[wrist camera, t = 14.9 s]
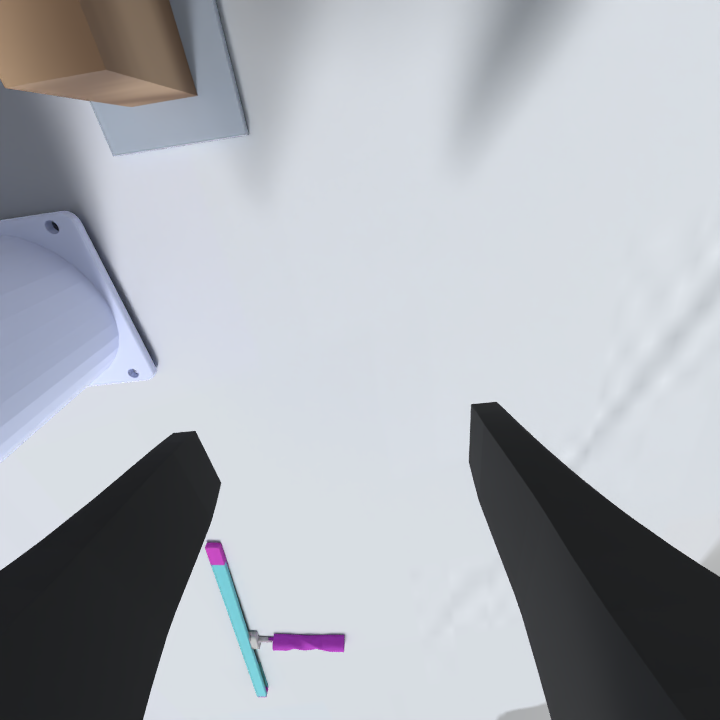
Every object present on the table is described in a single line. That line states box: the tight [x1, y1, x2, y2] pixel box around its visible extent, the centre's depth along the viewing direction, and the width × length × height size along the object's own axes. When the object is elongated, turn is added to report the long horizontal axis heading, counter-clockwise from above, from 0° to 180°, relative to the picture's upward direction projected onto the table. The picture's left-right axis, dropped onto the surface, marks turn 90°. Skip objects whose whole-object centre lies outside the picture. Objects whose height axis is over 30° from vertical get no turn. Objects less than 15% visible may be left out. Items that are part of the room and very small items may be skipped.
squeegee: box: [205, 543, 344, 697], centre depth 34 cm, size 29×2×10 cm
